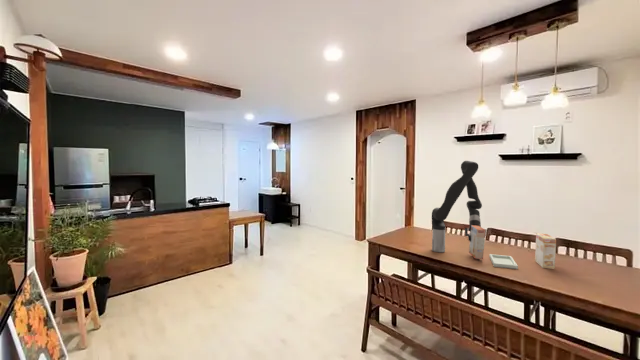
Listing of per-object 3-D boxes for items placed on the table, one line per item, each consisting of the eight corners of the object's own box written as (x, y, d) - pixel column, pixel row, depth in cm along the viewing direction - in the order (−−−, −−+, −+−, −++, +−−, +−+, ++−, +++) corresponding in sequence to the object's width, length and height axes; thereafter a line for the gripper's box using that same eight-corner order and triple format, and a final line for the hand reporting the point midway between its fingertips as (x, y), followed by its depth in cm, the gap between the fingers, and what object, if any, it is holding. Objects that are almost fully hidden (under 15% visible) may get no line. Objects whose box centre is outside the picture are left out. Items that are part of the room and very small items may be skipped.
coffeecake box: (555, 269, 191) (556, 239, 190) (542, 267, 194) (543, 238, 192) (546, 261, 205) (548, 233, 204) (534, 260, 208) (535, 233, 206)
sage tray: (493, 266, 196) (493, 263, 196) (489, 256, 216) (489, 253, 216) (517, 269, 191) (518, 265, 191) (511, 259, 211) (511, 256, 211)
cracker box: (483, 259, 206) (486, 229, 204) (474, 258, 207) (476, 229, 206) (477, 253, 219) (479, 225, 218) (468, 252, 221) (470, 224, 219)
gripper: (464, 218, 225) (465, 237, 215) (486, 220, 220) (487, 239, 210) (463, 224, 230) (464, 243, 220) (485, 225, 225) (486, 245, 215)
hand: (475, 241), depth 215 cm, fingers closed on cracker box, 6 cm apart
